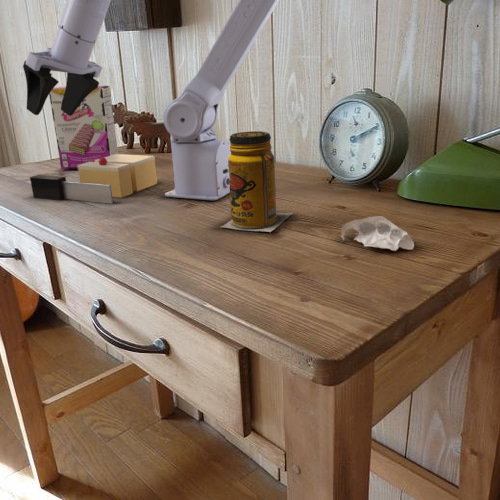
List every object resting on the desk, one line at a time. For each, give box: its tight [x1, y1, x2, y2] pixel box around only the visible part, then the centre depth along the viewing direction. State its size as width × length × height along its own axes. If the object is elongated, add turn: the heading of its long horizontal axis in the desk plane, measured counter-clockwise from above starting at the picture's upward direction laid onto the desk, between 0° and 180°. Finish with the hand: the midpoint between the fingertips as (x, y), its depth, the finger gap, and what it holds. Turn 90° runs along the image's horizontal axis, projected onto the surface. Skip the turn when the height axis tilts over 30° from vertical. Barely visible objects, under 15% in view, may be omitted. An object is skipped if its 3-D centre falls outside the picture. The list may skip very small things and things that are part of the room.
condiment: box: [221, 130, 294, 233], centre depth 72 cm, size 7×8×12 cm
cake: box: [94, 153, 158, 192], centre depth 96 cm, size 8×6×5 cm
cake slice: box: [78, 157, 134, 199], centre depth 91 cm, size 8×3×6 cm, turn 65°
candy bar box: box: [48, 84, 119, 171], centre depth 110 cm, size 11×5×16 cm, turn 84°
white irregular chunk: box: [340, 215, 415, 252], centre depth 63 cm, size 6×8×4 cm
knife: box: [29, 174, 114, 205], centre depth 88 cm, size 16×2×4 cm, turn 65°
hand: (49, 112), depth 89 cm, fingers open, 7 cm apart
